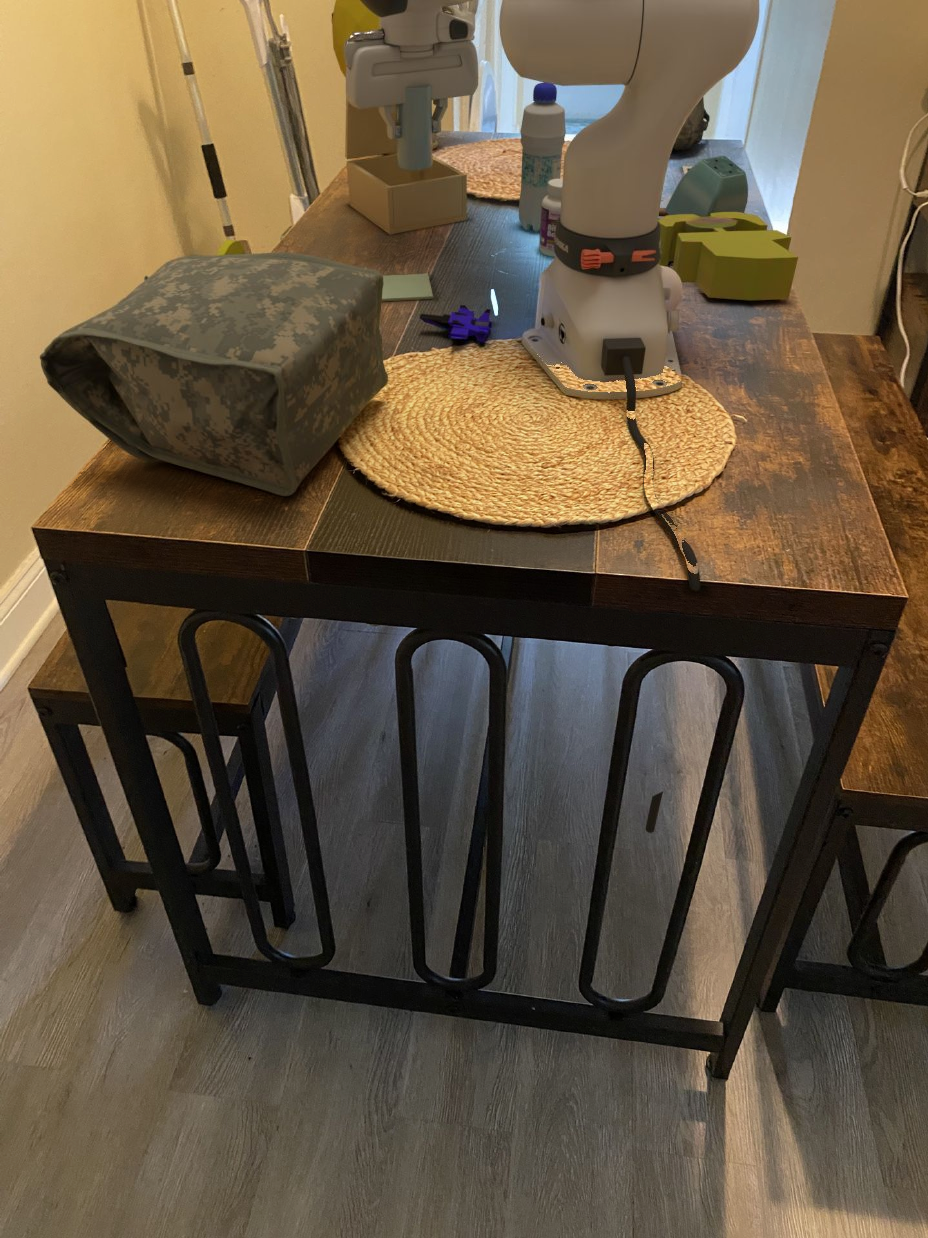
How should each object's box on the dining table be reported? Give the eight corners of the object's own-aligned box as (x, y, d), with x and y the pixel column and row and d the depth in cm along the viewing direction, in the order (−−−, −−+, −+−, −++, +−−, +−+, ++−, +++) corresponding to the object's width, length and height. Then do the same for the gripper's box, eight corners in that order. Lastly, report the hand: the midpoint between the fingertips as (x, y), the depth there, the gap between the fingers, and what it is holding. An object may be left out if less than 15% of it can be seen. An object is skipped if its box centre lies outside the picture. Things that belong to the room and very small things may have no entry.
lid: (432, 40, 138) (417, 25, 140) (348, 49, 133) (335, 33, 135) (422, 147, 151) (409, 132, 153) (346, 159, 146) (334, 143, 149)
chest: (466, 219, 146) (466, 174, 141) (389, 234, 141) (387, 187, 137) (423, 192, 156) (421, 149, 152) (349, 205, 151) (346, 161, 147)
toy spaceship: (495, 305, 117) (493, 321, 118) (426, 297, 117) (425, 314, 119) (486, 339, 109) (485, 356, 111) (413, 330, 110) (412, 347, 111)
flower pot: (765, 176, 135) (739, 232, 142) (726, 145, 138) (703, 201, 146) (722, 184, 131) (698, 241, 138) (684, 152, 135) (662, 209, 142)
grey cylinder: (438, 166, 140) (438, 85, 132) (406, 171, 138) (404, 89, 130) (417, 154, 144) (415, 74, 137) (386, 158, 142) (382, 78, 135)
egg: (683, 282, 120) (689, 257, 112) (675, 328, 119) (680, 305, 112) (637, 277, 120) (639, 251, 113) (629, 322, 120) (630, 299, 113)
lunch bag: (390, 399, 103) (179, 349, 109) (386, 259, 91) (151, 211, 97) (295, 517, 88) (57, 450, 94) (276, 367, 76) (7, 302, 82)
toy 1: (476, 125, 190) (480, -53, 170) (474, 159, 172) (478, -35, 152) (347, 122, 190) (336, -57, 170) (331, 156, 172) (317, -39, 152)
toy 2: (644, 256, 135) (694, 307, 120) (650, 215, 131) (702, 262, 116) (746, 250, 137) (807, 299, 122) (753, 210, 133) (818, 255, 118)
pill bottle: (545, 259, 133) (549, 189, 127) (534, 246, 137) (537, 178, 131) (580, 255, 134) (586, 186, 128) (568, 243, 138) (573, 174, 132)
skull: (737, 79, 162) (674, 12, 168) (651, 143, 164) (593, 74, 171) (740, 153, 180) (683, 90, 186) (663, 209, 183) (609, 145, 189)
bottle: (556, 235, 141) (566, 88, 127) (513, 232, 142) (518, 86, 128) (562, 221, 146) (571, 77, 132) (520, 218, 147) (525, 76, 133)
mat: (433, 298, 123) (433, 295, 123) (358, 302, 122) (358, 299, 122) (428, 276, 129) (427, 273, 129) (356, 279, 128) (356, 276, 128)
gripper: (351, 36, 123) (360, 148, 132) (484, 23, 130) (483, 130, 139) (333, 29, 127) (342, 138, 136) (462, 17, 134) (463, 122, 143)
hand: (414, 134), depth 137 cm, fingers closed on grey cylinder, 5 cm apart
